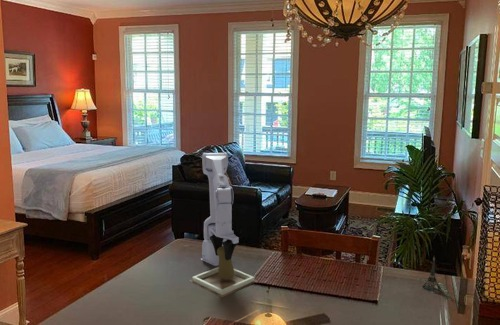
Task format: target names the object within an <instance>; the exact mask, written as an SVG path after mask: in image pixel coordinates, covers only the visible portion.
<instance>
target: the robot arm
mask: <svg viewBox="0 0 500 325" xmlns="http://www.w3.org/2000/svg"><path fill="white" fill-rule="evenodd" d="M201 160H202V163H201V164H202V172H203V174H204V175H206V176H207V178H208V179H207V180H208V185H209V186H208V188H209V189H208V190H209V191H208V192H209V211H210V212H209V214H210V216H209V217H207V218H206V219H205V220H204V221H203V239H204V240H203V241H202V243H201V244H202V245H201V256H202V258H200V260H201V261H203V262H205V263H207V264H210V265H212V266H214V267H218V266H219V256H218V254H217V249H218V248H219V247H221V246H224V250H225V259H226V260H230V259H231V260H232V257H233V254H234V250H235V248H236V246H237V245H238V244H239V240H240V239H239V238H240V237H238V236H236V234H234V230H232V228H233V226H232V224H233V222H232V219H233V218H232V217H233V216H232V214H233V213H232V211H233V208H232V206H233V204H234V195H235V194H234V190H233V187H232V186H230V183H229V182H230V181H229V178H228V176H227V175H226V172H227V170H228V166H229V155H228V153H227V152H226V151H225V152H203V153H202V157H201Z"/></svg>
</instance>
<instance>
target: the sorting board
mask: <svg viewBox="0 0 500 325" xmlns="http://www.w3.org/2000/svg"><path fill="white" fill-rule="evenodd" d="M202 280H204V281H206V282H208V283H210V284H212V285H214V286H216V287H218V288H221V289H224V288H227V287H229V286H231V285H234V284H236V283H238V282H241V281H243V280H245V278H242V277H240V276H238V275H235V276H234V277H232V278H230V279H221V278H219V277H218V272H217V273H215V274H212V275H210V276H207V277H205V278H202ZM188 282H189V283H192V284H194V285H196V286H198V287H199V288H202V289H204V290H205V291H208V292H210V293H213V294H214V295H216V296H218V297H221V298H223V297H226V296H228V295H230V294H232V293H235V292H237V291H240V290H242V289H244V288H246V287H249V286H251V285H253V284H255V283H258V282H259V280H257V279H255V281H253V282H251V283H249V284H247V285H244V286H242V287H240V288H238V289H235V290H233V291H231V292H228V293H226V294H224V295H220V294H218V293H216V292H214V291H212V290H210V289H208V288H206V287H204V286H202V285H200V284H198V283H196V282H194V281H192V279H189V280H188Z"/></svg>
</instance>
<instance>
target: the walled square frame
mask: <svg viewBox="0 0 500 325" xmlns="http://www.w3.org/2000/svg"><path fill="white" fill-rule="evenodd" d="M233 269H234V273H235V275H238V276H240V277H242V278H245V280H243V281H241V282H238V283H236V284H234V285H231V286H229V287H227V288H224V289H221V288H218V287H216V286H214V285H212V284H210V283H208V282H206V281H204V280H202V278H205V277H207V276H210V275H212V274H215V273H217V272H219V266H216V267H215V268H212V269H210V270H207V271H204V272H201V273H198V274H196V275H194V276H191V278H192V279H191V280H192V281H194V282H196V283H198V284H200V285H202V286H204V287H206V288H208V289H210V290H212V291H214V292H216V293H218V294H220V295H224V294H226V293H228V292H231V291H233V290H235V289H238V288H240V287H242V286H244V285H247V284H249V283H251V282H253V281H255V280H256V279H255V276H253V275H251V274H248V273H245V272H243V271H241V270H238V269H237V268H234V267H233Z"/></svg>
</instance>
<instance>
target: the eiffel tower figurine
mask: <svg viewBox="0 0 500 325" xmlns="http://www.w3.org/2000/svg"><path fill="white" fill-rule="evenodd" d="M435 263H436V257H435V256H433V258H432V264H431V270H430V274H429V277H427V278H428V279H422V278H421V279H420V278H416V279H415V280H416V281H421V282H424V284H422V286H420V287H419V288H420V289H422V290H425V291H427V292H428V293H432V294H436V293H438V292H443V293H445V294H446V295H444V296H442V299H444V300H449V301H451V300H452V297H451V296H450V293H449V290H448V289H447V286H446V284H443V283H441V282H438V280H437V278H436V271H435V266H436V265H435Z"/></svg>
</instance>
